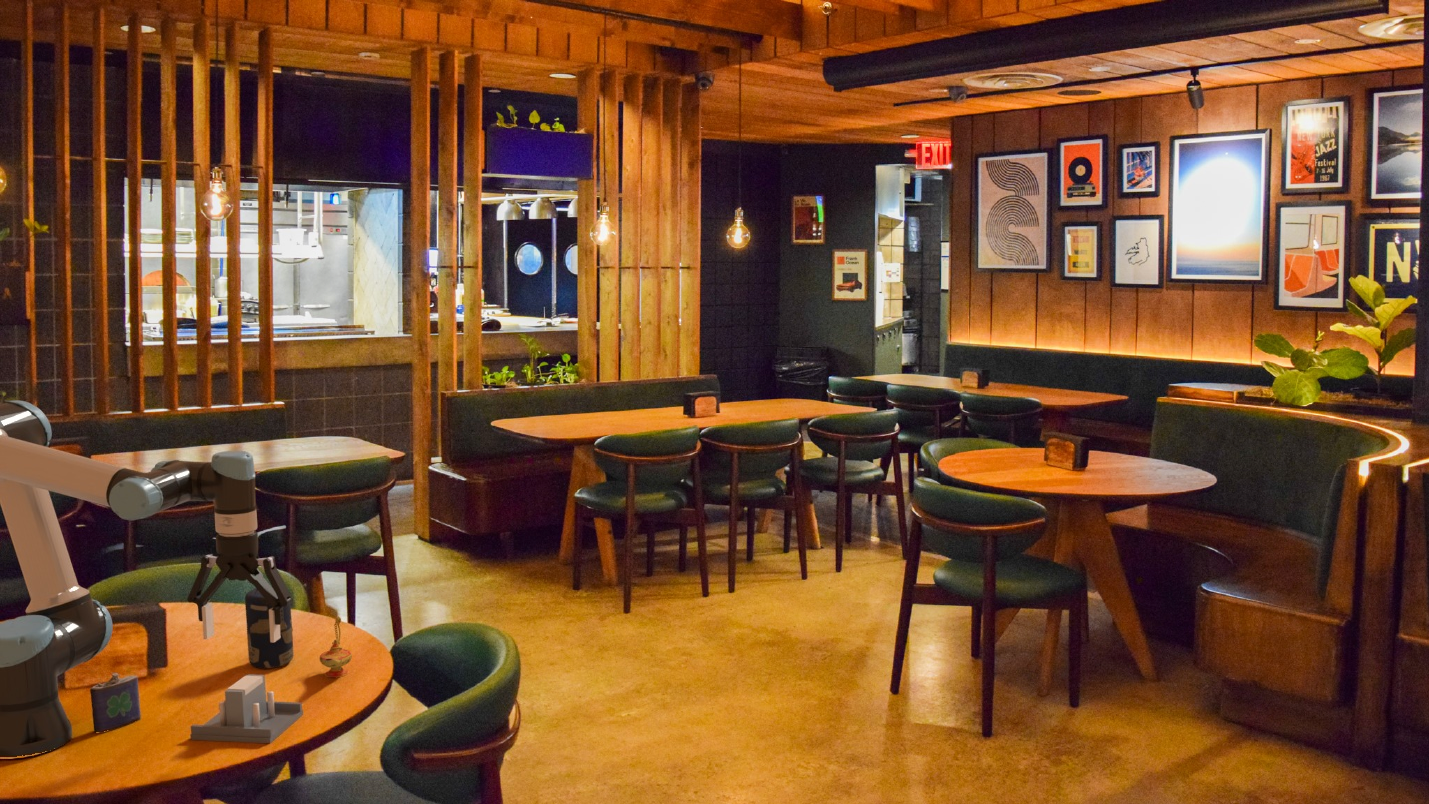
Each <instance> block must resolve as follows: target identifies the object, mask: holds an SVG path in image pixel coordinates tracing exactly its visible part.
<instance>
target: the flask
mask: <svg viewBox="0 0 1429 804" xmlns="http://www.w3.org/2000/svg"><path fill="white" fill-rule="evenodd" d="M111 675H112V677H111V678H110V679H109V680H108V681H103V683H101V682H98V683H97V684H96V685H93V686H92V687H91V688H90V690H89V692H90V699H91V710H92V711H91V712H92V714H91V715H92V723H93V730H94V731H93V732H94V733H95V732H104V731H107V730H111V731H114V730H118V729H119V728H122V727H126V726H128V725H131V724H133V723H136V722H135V721H137V722H138V721H139V720H141V719H142V718H141V717H142V714H141V705H140V692H139V679H138V678H139V677H138V676H137V675H127V676H125V677H122V678H120V676H121V674H118V673H117V672H112V673H111ZM130 723H131V724H130ZM125 725H126V726H125ZM117 728H118V729H117ZM104 733H105V732H104Z"/></svg>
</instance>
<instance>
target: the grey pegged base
mask: <svg viewBox="0 0 1429 804" xmlns="http://www.w3.org/2000/svg"><path fill="white" fill-rule="evenodd" d="M274 696H275V694H274V691H272V690H271V691H267V693H266V705H267V714H266V715H265V716H263V717H262V718H261V719H260V712H259V703H254V704H252V707H253V723H254V725H252V726H251V727H238V726H227V717H226V702H225V700H224V701H220V702H218V709H219V712H218V713H217V714H215V715H214V716H213V717H212V718H210V719H209V720H207V722H205V723H204V724H192V725H190V740H191V741H206V742H207V741H209V742H210V741H211V742H229V741H230V742H233V743H257V744H272V743H273V742H274V741H275V740H276V739H277V738H279V736H280V735H282V733H284V732H285V731H286V730H287V729H289V728H290V727H291V726H292V725H293V724H294V723H295V722H297V720H299V719H301V717H302V716H303V715H304V709H303V703H302V702H294V701H293V702H291V701H275V698H274ZM230 742H229V743H230Z"/></svg>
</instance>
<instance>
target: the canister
mask: <svg viewBox="0 0 1429 804" xmlns="http://www.w3.org/2000/svg"><path fill="white" fill-rule="evenodd" d="M270 586H271V587H272V585H270ZM272 588H273V587H272ZM244 597H245V598H244V600H245V601H244V602H245V603H244V605H245V618H246V636H247V637H246V639H247V651H248V652H247V653H248V661H249V664H250V665H251V666H252V667H254V668H257V669H259V668H260V669H272V668H278V667H281V666H285V665H287V664H289V663H291V661H292V660H293V659H294V641H293V640H294V636H293V631H294V629H293V621H292V620H293V619H292V607H291V606H292V605H291V604H292V603H290V604H288V605H287V606H284V607H283V612H284V621H283V623H281V624H280V636H281V638H280V639H278V640H277V641H276V642H274V643H273V642H270V624H269V609H271V608H272V606H271V605H270V604H269V603H268V601H267V600H266V599H265V598H264V597H263V596H262V594H261V593H260V592H259V591H258V590H257V589H256V588H253V589H251V590H248V592H247V593H246V594H245V596H244Z"/></svg>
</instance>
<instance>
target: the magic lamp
mask: <svg viewBox="0 0 1429 804" xmlns="http://www.w3.org/2000/svg"><path fill="white" fill-rule="evenodd" d="M341 622H342V618H341V616H337V617H335V622H334V624H333V626H334V632H335V639H334V640H333V642H332V643H331V644H332V645H331V646H330V649H329V650H327V651H324V652H323V653H321V654H320V655H319V662H320V664H322V666H324V667H327V668H330V669H329V670H328V671H326V672H325V673H324V677H326V678H330V677H336V678H341V677H344V676H347V675H348V674H349V672H350V671H349V670H347V669H345V668H343V667H344V666H345V665H347V664H349V663H350V661H351V660H352V659H353V654H352V652H351V651H350V650H348V649H345V648H344V649H343V648H342V646H341V633H342V632H341V627H340V623H341Z"/></svg>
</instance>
